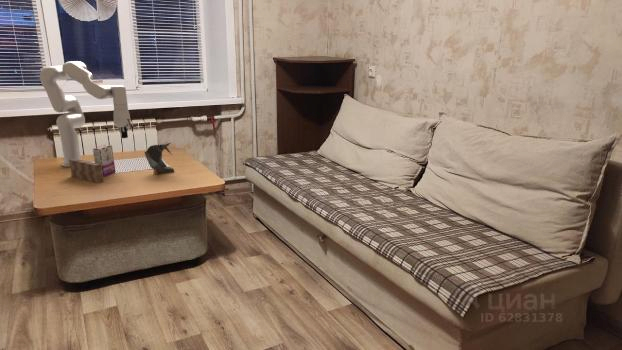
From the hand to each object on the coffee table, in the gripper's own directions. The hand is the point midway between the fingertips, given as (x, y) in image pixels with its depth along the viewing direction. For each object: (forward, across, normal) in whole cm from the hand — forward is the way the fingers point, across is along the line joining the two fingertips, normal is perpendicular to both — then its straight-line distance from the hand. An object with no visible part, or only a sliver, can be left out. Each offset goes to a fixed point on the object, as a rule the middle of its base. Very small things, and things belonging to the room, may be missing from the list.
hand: (124, 137), depth 265 cm
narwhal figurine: (+20, +23, +4) cm, 31 cm away
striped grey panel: (+19, -1, -27) cm, 33 cm away
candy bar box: (+19, -1, -15) cm, 24 cm away
